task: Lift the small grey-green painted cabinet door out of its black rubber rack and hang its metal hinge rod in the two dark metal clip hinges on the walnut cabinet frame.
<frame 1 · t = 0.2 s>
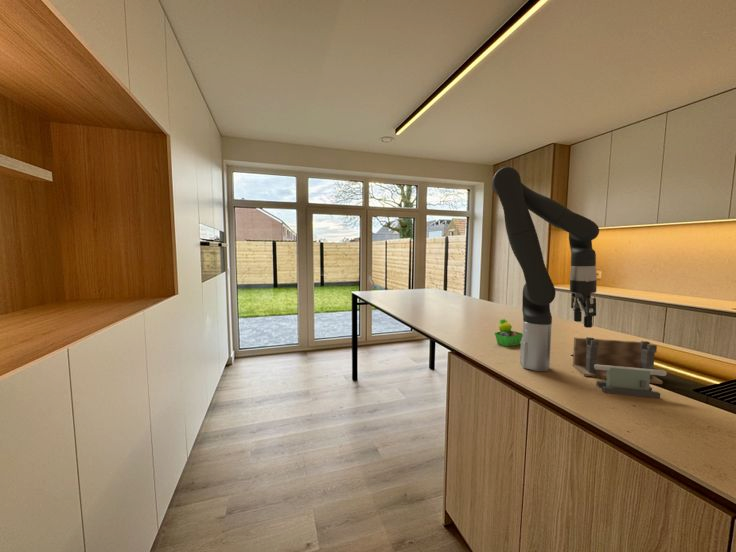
hand: (582, 324, 103), 18 cm above the kitchen island, tool pointing down, fingers open, 8 cm apart
door rack: (626, 391, 90), on the kitchen island
door: (626, 391, 90), on the kitchen island
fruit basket: (507, 344, 138), on the kitchen island
cabinet frame: (617, 376, 101), on the kitchen island
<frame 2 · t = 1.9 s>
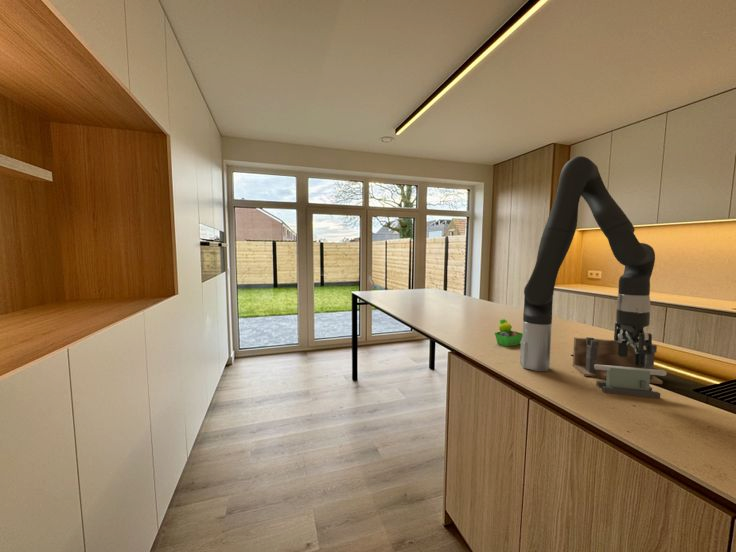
hand: (630, 361, 90), 10 cm above the kitchen island, tool pointing down, fingers open, 8 cm apart
nothing on the kitchen island moved.
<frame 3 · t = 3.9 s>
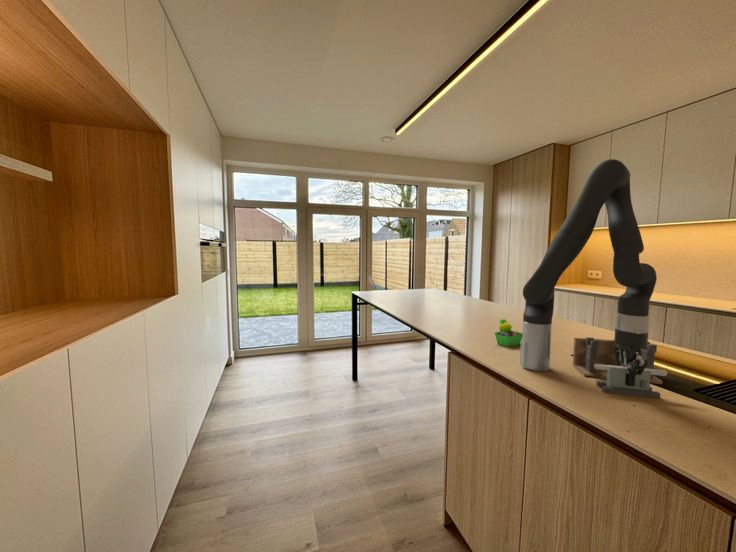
hand: (627, 383, 90), 3 cm above the kitchen island, tool pointing down, fingers closed on door, 2 cm apart
door: (627, 391, 90), on the kitchen island, touching gripper
everything else where it was.
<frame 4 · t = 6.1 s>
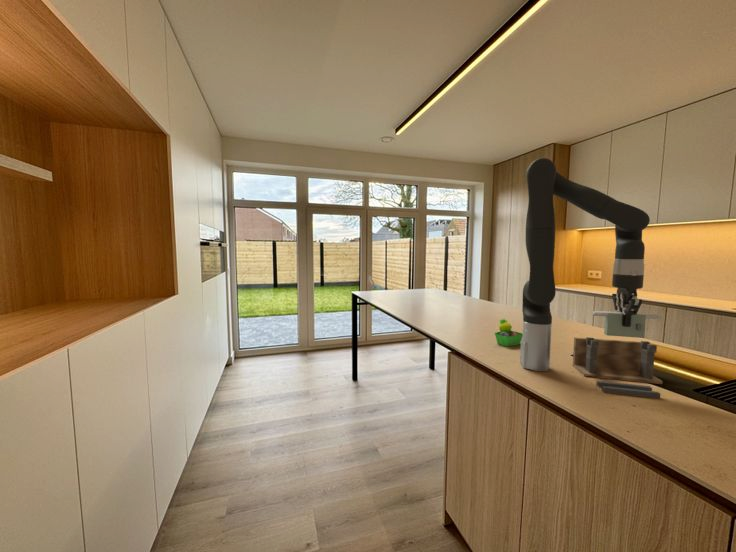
hand: (624, 325, 96), 19 cm above the kitchen island, tool pointing down, fingers closed on door
door: (623, 335, 96), point 16 cm above the kitchen island, touching gripper
everything else where it was.
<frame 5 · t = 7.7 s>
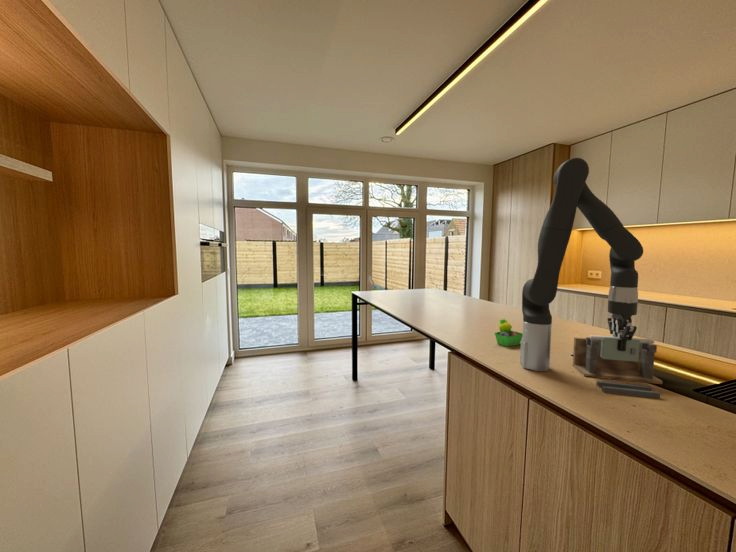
hand: (619, 349, 100), 10 cm above the kitchen island, tool pointing down, fingers closed on door, 2 cm apart
door: (618, 359, 100), point 6 cm above the kitchen island, touching gripper
everything else where it was.
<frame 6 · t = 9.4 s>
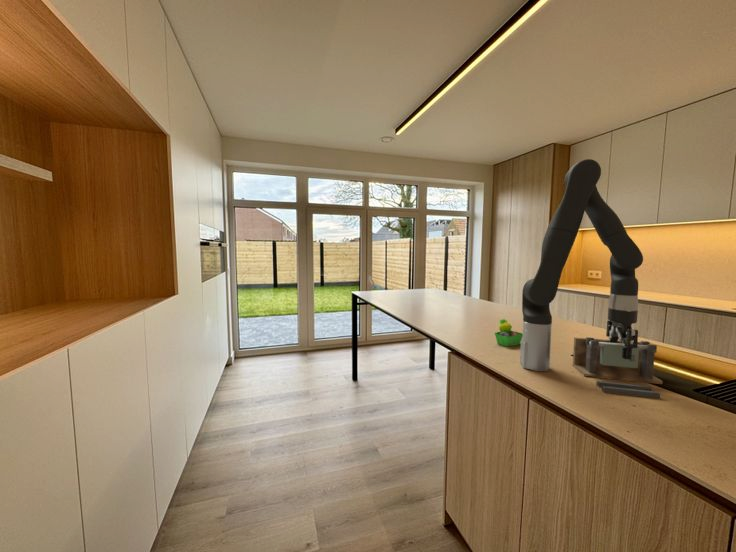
hand: (619, 354, 100), 8 cm above the kitchen island, tool pointing down, fingers open, 8 cm apart
door: (618, 365, 101), point 4 cm above the kitchen island, touching cabinet frame
everything else where it was.
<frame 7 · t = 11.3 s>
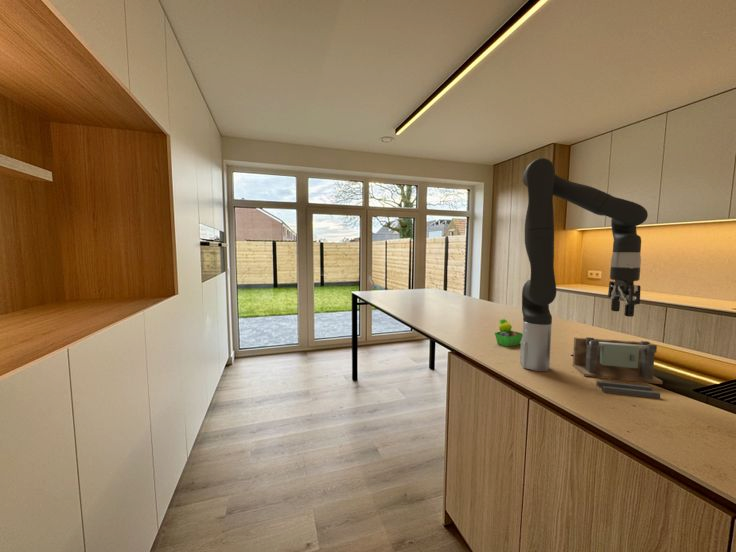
hand: (621, 313, 99), 22 cm above the kitchen island, tool pointing down, fingers open, 8 cm apart
nothing on the kitchen island moved.
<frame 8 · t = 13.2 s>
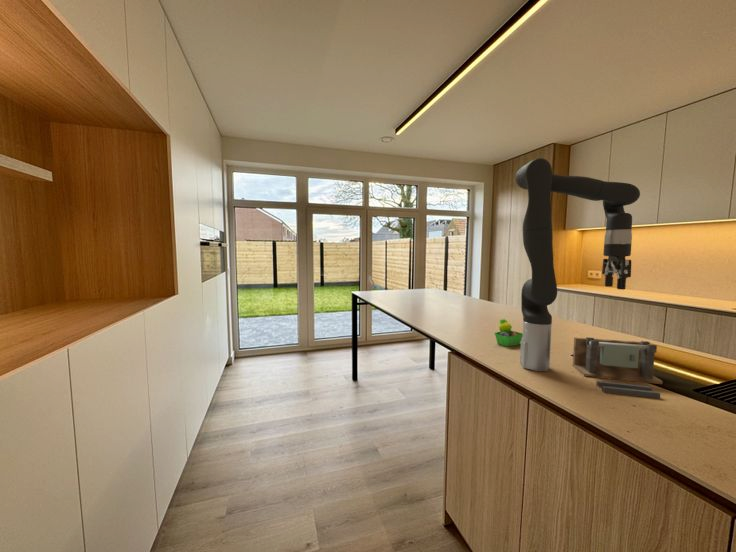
hand: (614, 287, 106), 30 cm above the kitchen island, tool pointing down, fingers open, 8 cm apart
nothing on the kitchen island moved.
at the end: door 0.1 cm off-centre on the cabinet frame, point 4.0 cm above the cabinet frame's base; door tilted 0°; the gripper is holding nothing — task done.
